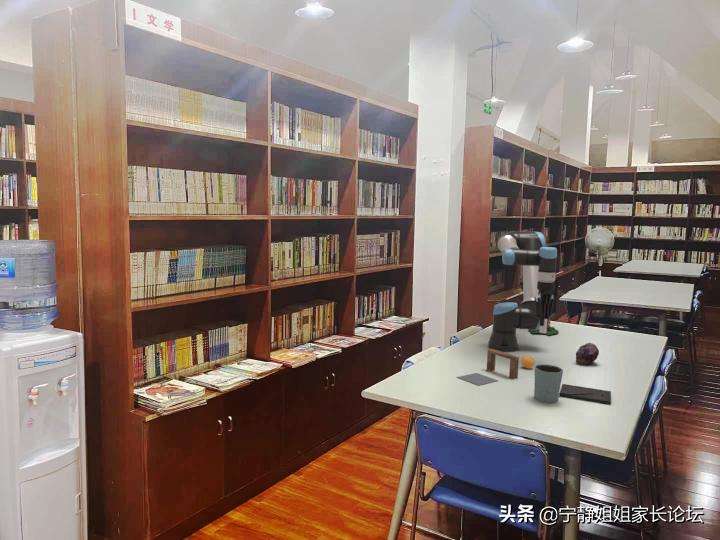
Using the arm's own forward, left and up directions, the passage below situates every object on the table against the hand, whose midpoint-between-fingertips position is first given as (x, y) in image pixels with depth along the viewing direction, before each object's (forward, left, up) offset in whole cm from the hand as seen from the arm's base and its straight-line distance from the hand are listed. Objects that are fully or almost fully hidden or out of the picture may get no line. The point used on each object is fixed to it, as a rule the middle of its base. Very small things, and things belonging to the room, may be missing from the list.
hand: (542, 332), depth 244 cm
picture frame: (+35, -19, -16) cm, 43 cm away
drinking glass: (+30, -36, -16) cm, 50 cm away
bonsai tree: (-44, +55, -16) cm, 72 cm away
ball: (0, -9, -13) cm, 16 cm away
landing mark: (0, -41, -15) cm, 44 cm away
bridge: (0, -26, -15) cm, 30 cm away
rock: (+9, +23, -16) cm, 29 cm away
